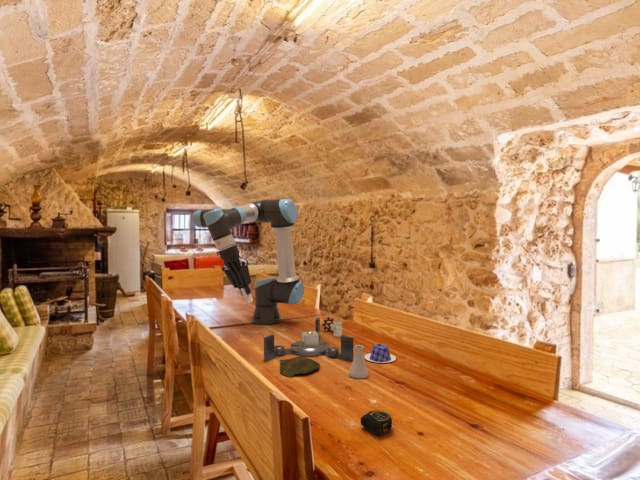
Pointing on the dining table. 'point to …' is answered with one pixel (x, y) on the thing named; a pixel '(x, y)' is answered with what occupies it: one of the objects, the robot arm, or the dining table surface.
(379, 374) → the dining table surface
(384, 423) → the tape measure
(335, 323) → the valve
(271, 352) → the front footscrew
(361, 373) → the flask
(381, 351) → the pudding
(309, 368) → the pottery fragment
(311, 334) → the tribrach
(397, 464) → the dining table surface
